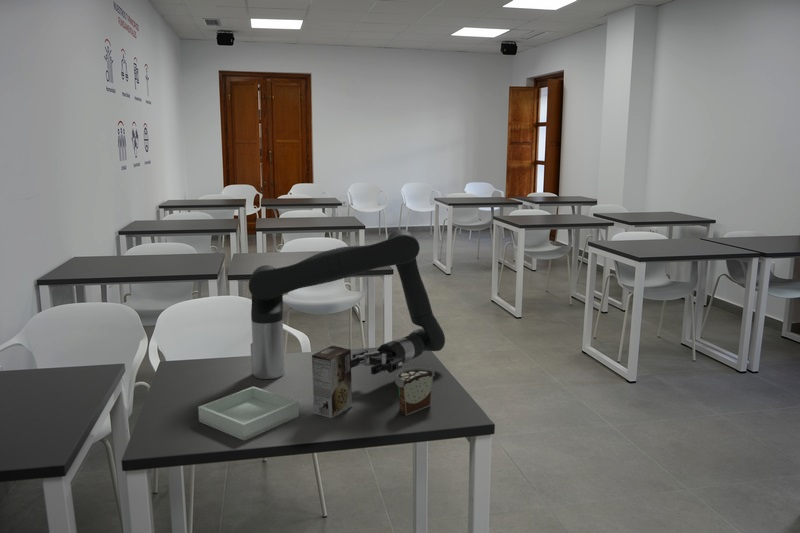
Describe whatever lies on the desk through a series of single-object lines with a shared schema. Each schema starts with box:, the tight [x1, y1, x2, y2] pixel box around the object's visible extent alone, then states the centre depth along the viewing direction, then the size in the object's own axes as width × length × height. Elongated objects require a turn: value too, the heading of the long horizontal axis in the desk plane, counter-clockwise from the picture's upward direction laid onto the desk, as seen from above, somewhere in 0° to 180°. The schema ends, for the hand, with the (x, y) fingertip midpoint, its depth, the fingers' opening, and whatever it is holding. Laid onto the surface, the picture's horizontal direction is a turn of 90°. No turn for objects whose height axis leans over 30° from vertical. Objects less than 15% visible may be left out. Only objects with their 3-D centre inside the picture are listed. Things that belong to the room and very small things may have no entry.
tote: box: [197, 386, 300, 442], centre depth 163 cm, size 18×18×4 cm
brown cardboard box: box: [311, 345, 353, 419], centre depth 167 cm, size 9×6×16 cm
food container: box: [395, 366, 436, 416], centre depth 170 cm, size 12×6×10 cm, turn 134°
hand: (360, 367), depth 176 cm, fingers open, 8 cm apart
